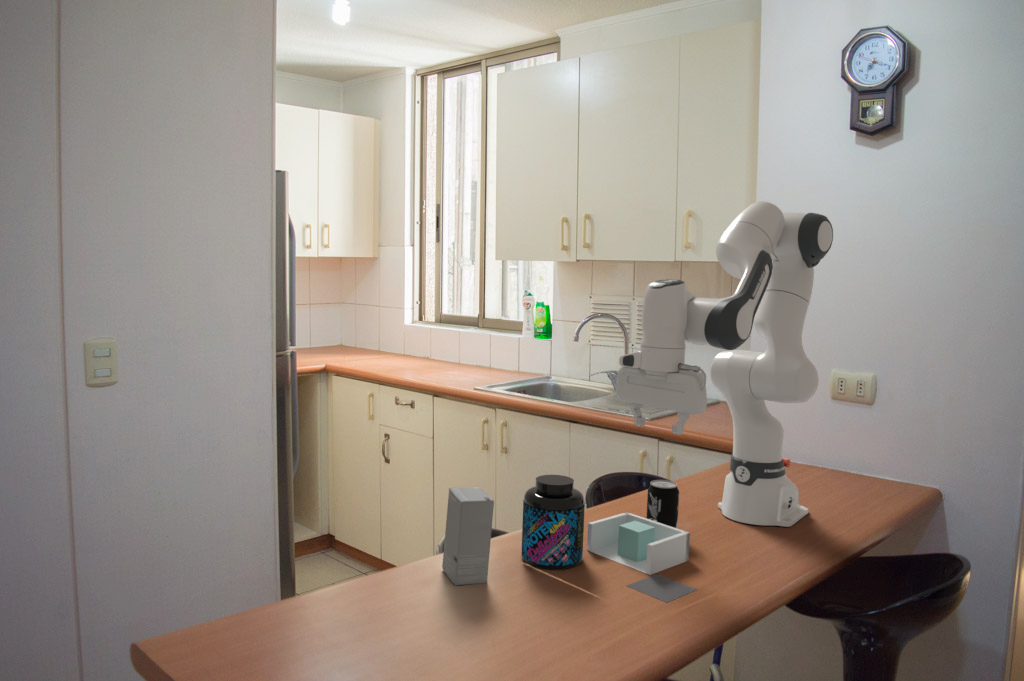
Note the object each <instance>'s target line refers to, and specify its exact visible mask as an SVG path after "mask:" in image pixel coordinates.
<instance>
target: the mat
mask: <svg viewBox="0 0 1024 681" xmlns="http://www.w3.org/2000/svg"><path fill="white" fill-rule="evenodd" d="M626 587H628V588H630V589H632V590H635V591H636V592H640V593H642V594H645V595H646V596H649V597H652V598H654V599H657V600H659V601H661V602H663V603H666V604H668V603H670V602H673V601H675V600H677V599H679V598H682V597H684V596H686V595H688V594H691V593H693V592H696V591H698V589H697V588H694V587H692V586H689V585H687V584H684V583H682V582H679V581H676V580H674V579H672V578H670V577H666V576H664V575H662V574H659V573H654V574H652V575H649V576H648V577H645V578H643V579H639V580H638V581H636V582H635V581H634V582H632V583H629V584H627V585H626Z"/></svg>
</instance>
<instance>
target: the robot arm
mask: <svg viewBox="0 0 1024 681" xmlns="http://www.w3.org/2000/svg"><path fill="white" fill-rule="evenodd" d="M833 241H834V230H833V225H832V223H831V221H830V219H829V218H828V217H827V216H826V215H823V214H820V213H816V212H815V213H814V212H807V213H803V212H802V213H801V212H782V210H781V209H780V208H779V207H778V206H777V204H773V203H772V202H770V201H763V200H762V201H757V202H753V203H752V204H750V205H748V206H747V207H746V208H745V209H744V210H743V211H741V212H740V213H739V214H738V215H737V216H736V217H735V218H734V219H733V220H732V221H731V223H729V225H728V226H727V227H726V229H725V230H724V231H723V233H722V234H721V235H720V237H719V239H718V241H717V244H716V246H715V252H716V253H715V254H716V259H717V260H718V263H719V265H720V267H721V268H722V269H723V270H724V271H725V273H727V274H728V275H730V276H731V277H733V278H735V279H738V280H739V283H738V285H737V287H736V288H735V291H734V293H733V294H732V295H730V296H726V297H721V298H720V297H719V298H712V297H699V296H696V295H694V294H692V293H691V292H690V291H689V290H687V285H686V282H685V281H684V280H681V279H676V278H675V279H674V278H673V279H672V278H669V279H658V280H655V281H651V283H649V284H648V285H647V286H646V290H645V293H644V297H643V301H642V302H643V304H642V312H641V326H642V327H641V328H642V337H641V341H640V344H639V346H640V348H639V350H638V351H634V352H631V353H630V352H629V353H627V354H623V355H620V356H619V359H618V364H619V366H620V368H618V369H619V370H617V371H618V372H617V375H616V376H617V377H616V384H615V385H616V386H615V394H616V397H617V400H618V401H620V402H626V403H630V407H629V408H630V411H631V413H632V415H633V417H634V422H633V423H634V426H637V427H645V425H646V416H643V414H642V411H641V409H642V408H643V406H646V407H652V408H657V409H661V410H666V411H673V412H676V416H677V418H678V420H677V421H676V423H675V424H671V434H674V435H683V433H684V426H685V425H686V423H687V422H688V420H689V419H690V415H693V416H694V415H695V416H696V415H702V414H703V413H704V412H706V411H707V404H708V403H707V402H708V401H707V400H708V396H707V394H708V393H707V386H706V385H707V373H705V371H704V369H703V368H701V366H698V365H690V364H686V362H685V360H686V344H691V345H697V346H708V347H714V348H717V349H723V350H724V351H720V352H718V353H717V355H716V356H714V358H713V360H712V362H711V365H710V367H709V375H710V376H709V377H710V380H711V382H712V385H713V387H714V388H716V389H717V391H719V392H720V394H721V395H722V396H723V398H724V399H725V402H726V403H727V406H728V408H729V411H730V414H731V419H732V427H733V428H732V429H733V436H732V438H733V440H732V442H733V443H732V453H731V455H730V459H729V470H730V473H728V474H726V476H725V479H724V486H723V493H722V501H719V502H718V503H717V507H718V508H719V509H720V510H721V513H722V515H723V516H724V517H725V518H728V519H730V520H732V521H736V522H738V523H743V524H749V525H755V526H779V527H784V528H785V527H786V528H789V527H792V526H793V525H795V524H796V523H797V522H799V521H800V520H802V519H803V518H804V517H805V516H806V515H808V514H809V508H808V507H805V506H804V505H802V504H799V494H800V493H799V489H798V487H797V486H796V485H795V484H794V483H793V482H792V481H791V480H790V478H789V477H787V475H786V470H785V469H786V468H790V467H791V465H792V464H791V463H792V461H791V459H790V458H785V457H783V449H784V447H783V445H784V433H785V432H784V428H783V425H782V423H781V422H780V421H779V420H778V419H777V417H775V416H773V415H772V413H770V412H769V410H768V408H767V406H766V403H765V401H770V402H775V403H781V404H796V403H797V404H799V403H807V402H808V401H809V400H811V398H812V397H813V396H814V395H815V393H816V392H817V389H818V386H819V373H818V370H817V368H816V366H815V365H814V364H813V362H812V361H811V360H810V359H809V358H808V356H807V355H806V353H805V350H804V347H803V346H804V345H803V341H802V336H803V329H804V326H805V325H804V324H805V320H806V317H807V316H806V315H807V313H808V309H809V305H810V303H811V302H810V301H811V298H812V293H813V289H814V288H813V286H814V280H815V277H814V275H815V268H814V267H817V266H818V265H819V263H820V262H821V260H822V259H824V257H826V256H827V254H828V253H829V251H830V250H831V248H832V245H833ZM753 327H754V329H755V330H756V332H757V333H758V335H760V336H761V337H762V338H764V339H765V340H766V348H765V350H764V351H755V350H746V349H738V348H739V347H741V346H742V345H743V344H744V343H745V342H746V341H747V340H748V339H749V337H750V335H751V333H752V330H753Z"/></svg>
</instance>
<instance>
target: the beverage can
mask: <svg viewBox="0 0 1024 681" xmlns="http://www.w3.org/2000/svg"><path fill="white" fill-rule="evenodd" d="M649 483H650V485H649V487H648V489H647V502H646V518H647V519H650V520H653V521H656V522H659V523H662V524H665V525H668V526H671V527H674V528H677V529H678V522H679V506H680V505H679V504H680V502H679V501H680V490H679V488H678V483H677V482H674V481H672V480H668V479H667V480H666V479H655V480H651V481H650V482H649Z"/></svg>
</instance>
